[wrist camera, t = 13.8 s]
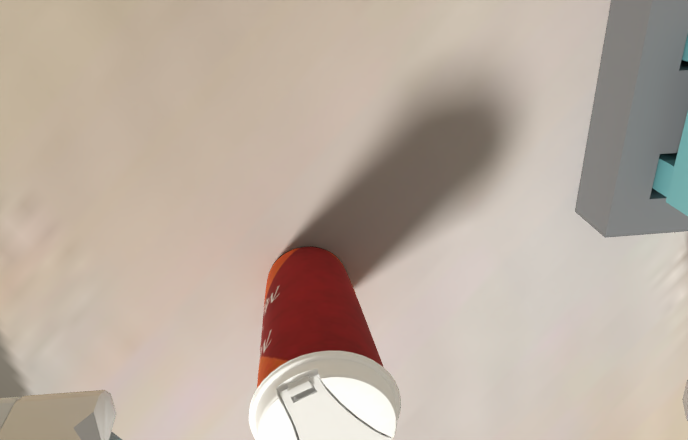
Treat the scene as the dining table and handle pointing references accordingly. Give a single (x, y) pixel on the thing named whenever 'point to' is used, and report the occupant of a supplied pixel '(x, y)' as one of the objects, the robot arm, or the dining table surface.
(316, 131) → the dining table surface
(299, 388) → the paper cup
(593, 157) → the gray socket block
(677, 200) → the notched turquoise block
